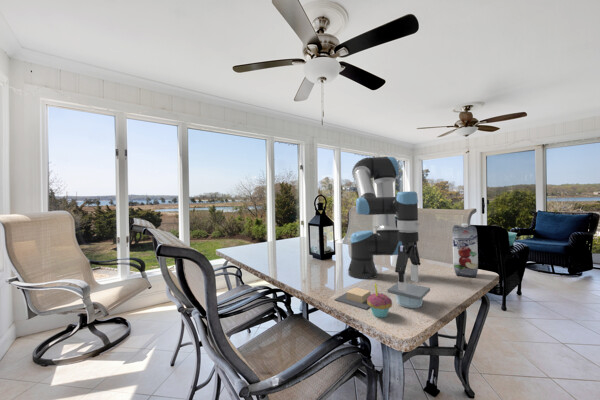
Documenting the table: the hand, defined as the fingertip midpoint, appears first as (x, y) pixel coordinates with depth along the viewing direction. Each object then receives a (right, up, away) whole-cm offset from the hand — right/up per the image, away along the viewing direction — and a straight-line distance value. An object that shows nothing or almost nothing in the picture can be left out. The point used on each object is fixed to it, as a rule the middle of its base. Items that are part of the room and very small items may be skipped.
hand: (408, 285), depth 98 cm
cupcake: (-14, -8, -9) cm, 18 cm away
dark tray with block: (-18, -7, +5) cm, 20 cm away
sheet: (0, -2, 0) cm, 2 cm away
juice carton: (+44, -6, +33) cm, 55 cm away
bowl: (0, -7, 0) cm, 7 cm away
